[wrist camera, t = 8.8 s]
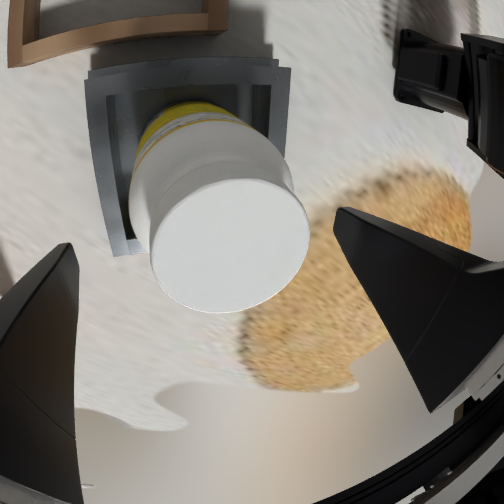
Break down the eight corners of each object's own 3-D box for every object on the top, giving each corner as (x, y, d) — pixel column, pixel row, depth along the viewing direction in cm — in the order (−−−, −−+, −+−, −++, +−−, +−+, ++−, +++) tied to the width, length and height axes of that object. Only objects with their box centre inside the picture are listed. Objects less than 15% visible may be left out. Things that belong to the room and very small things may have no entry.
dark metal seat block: (272, 59, 16) (300, 59, 13) (263, 210, 22) (283, 239, 19) (91, 70, 13) (73, 72, 10) (113, 230, 19) (107, 264, 16)
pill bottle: (236, 191, 19) (310, 315, 11) (141, 198, 18) (141, 341, 9) (244, 98, 16) (354, 153, 7) (137, 100, 14) (106, 155, 6)
